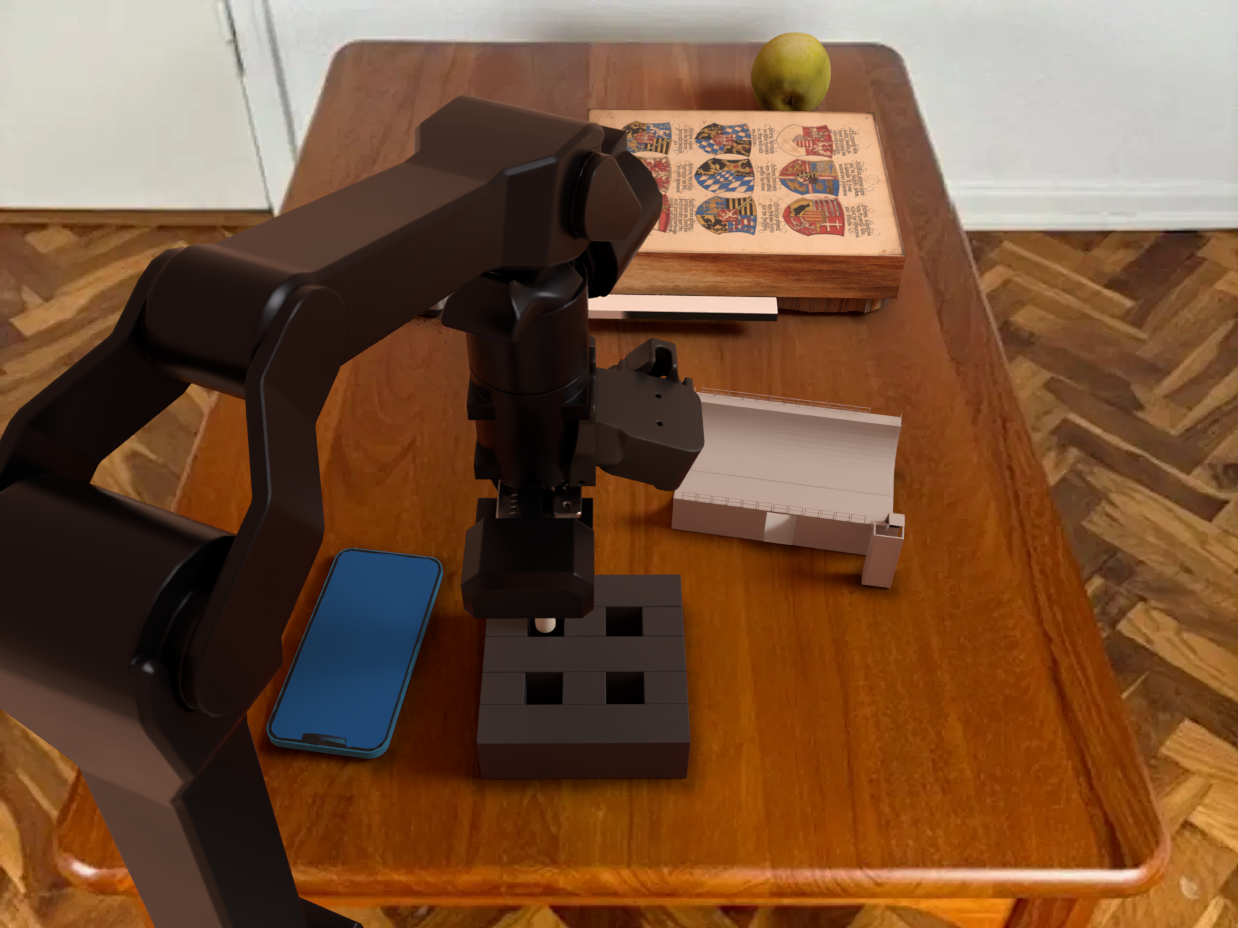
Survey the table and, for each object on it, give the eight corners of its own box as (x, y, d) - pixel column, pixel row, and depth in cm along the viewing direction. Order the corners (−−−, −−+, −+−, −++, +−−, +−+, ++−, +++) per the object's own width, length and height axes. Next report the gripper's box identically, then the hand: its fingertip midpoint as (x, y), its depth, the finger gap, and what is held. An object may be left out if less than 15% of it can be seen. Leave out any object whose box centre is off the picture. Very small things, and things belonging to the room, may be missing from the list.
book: (549, 336, 97) (897, 342, 96) (545, 272, 92) (910, 279, 91) (569, 168, 114) (864, 173, 113) (566, 108, 109) (874, 112, 108)
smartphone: (446, 558, 79) (383, 754, 69) (447, 567, 80) (385, 763, 70) (338, 545, 80) (260, 738, 70) (341, 555, 81) (263, 747, 70)
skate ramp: (893, 448, 88) (906, 397, 84) (890, 589, 79) (904, 539, 75) (691, 422, 90) (695, 372, 86) (666, 558, 81) (668, 507, 77)
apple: (825, 93, 123) (835, 18, 118) (825, 139, 117) (836, 63, 111) (749, 88, 124) (756, 13, 118) (745, 134, 118) (752, 58, 112)
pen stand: (687, 778, 69) (690, 742, 66) (481, 779, 69) (476, 743, 66) (678, 612, 78) (680, 573, 75) (494, 612, 77) (490, 574, 74)
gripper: (711, 500, 50) (691, 703, 62) (688, 238, 63) (676, 445, 74) (445, 501, 50) (475, 704, 61) (478, 238, 63) (497, 445, 74)
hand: (541, 562), depth 68 cm, fingers closed
